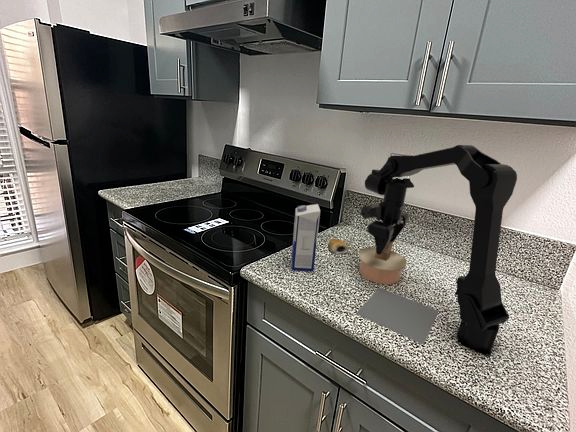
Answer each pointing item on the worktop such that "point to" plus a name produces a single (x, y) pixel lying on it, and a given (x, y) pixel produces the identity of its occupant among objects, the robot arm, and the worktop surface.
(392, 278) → the bowl
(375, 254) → the lid
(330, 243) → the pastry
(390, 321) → the mat
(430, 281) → the worktop surface
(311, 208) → the milk carton
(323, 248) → the worktop surface
